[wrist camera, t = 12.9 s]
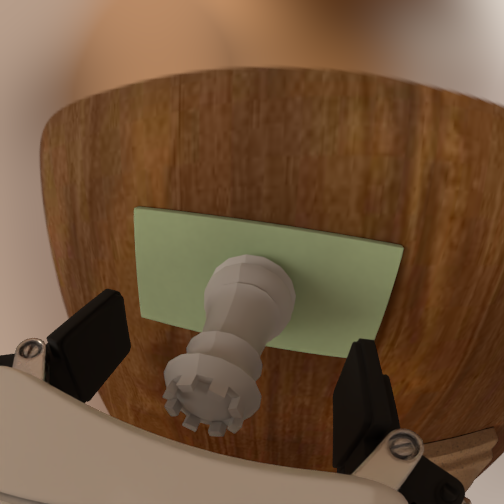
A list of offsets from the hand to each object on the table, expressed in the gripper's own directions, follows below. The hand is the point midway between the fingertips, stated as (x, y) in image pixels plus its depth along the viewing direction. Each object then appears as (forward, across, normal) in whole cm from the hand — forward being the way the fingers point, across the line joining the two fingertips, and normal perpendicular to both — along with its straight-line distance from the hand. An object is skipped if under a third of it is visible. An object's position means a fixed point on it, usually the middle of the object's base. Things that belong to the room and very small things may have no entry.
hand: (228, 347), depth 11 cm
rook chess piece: (+5, 0, 0) cm, 5 cm away
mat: (+5, 0, 0) cm, 5 cm away
